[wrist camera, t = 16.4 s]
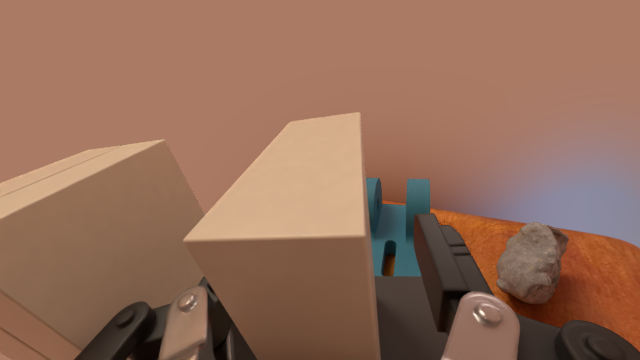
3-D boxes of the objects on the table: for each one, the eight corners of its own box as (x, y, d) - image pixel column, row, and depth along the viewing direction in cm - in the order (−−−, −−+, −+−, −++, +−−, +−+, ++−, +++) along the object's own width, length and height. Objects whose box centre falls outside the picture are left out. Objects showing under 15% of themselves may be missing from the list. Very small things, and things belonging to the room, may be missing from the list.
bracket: (367, 214, 45) (363, 168, 40) (425, 219, 41) (428, 168, 36) (344, 297, 31) (333, 241, 26) (429, 317, 27) (435, 255, 22)
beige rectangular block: (314, 450, 9) (180, 240, 4) (330, 294, 15) (289, 121, 10) (388, 463, 9) (366, 235, 3) (375, 295, 15) (360, 111, 9)
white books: (103, 413, 12) (-178, 250, 6) (188, 290, 18) (87, 149, 12) (184, 427, 11) (-62, 246, 5) (245, 291, 17) (165, 138, 11)
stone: (577, 343, 22) (624, 278, 18) (492, 316, 26) (513, 255, 21) (552, 270, 29) (581, 208, 24) (487, 256, 33) (502, 199, 28)
